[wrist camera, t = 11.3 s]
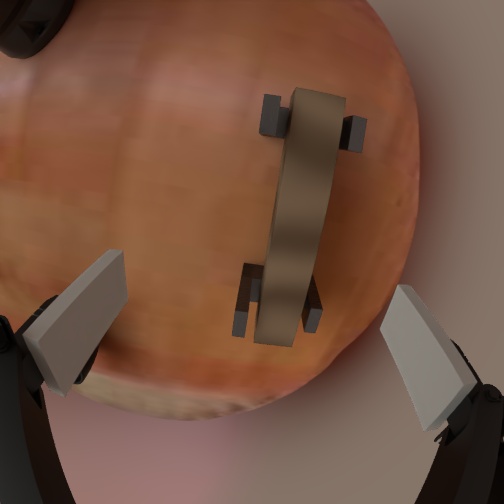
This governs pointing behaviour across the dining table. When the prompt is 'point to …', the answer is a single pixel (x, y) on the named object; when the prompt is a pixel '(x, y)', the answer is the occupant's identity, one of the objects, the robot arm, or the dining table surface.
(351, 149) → the bracket
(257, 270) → the bracket
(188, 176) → the dining table surface
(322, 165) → the rail
